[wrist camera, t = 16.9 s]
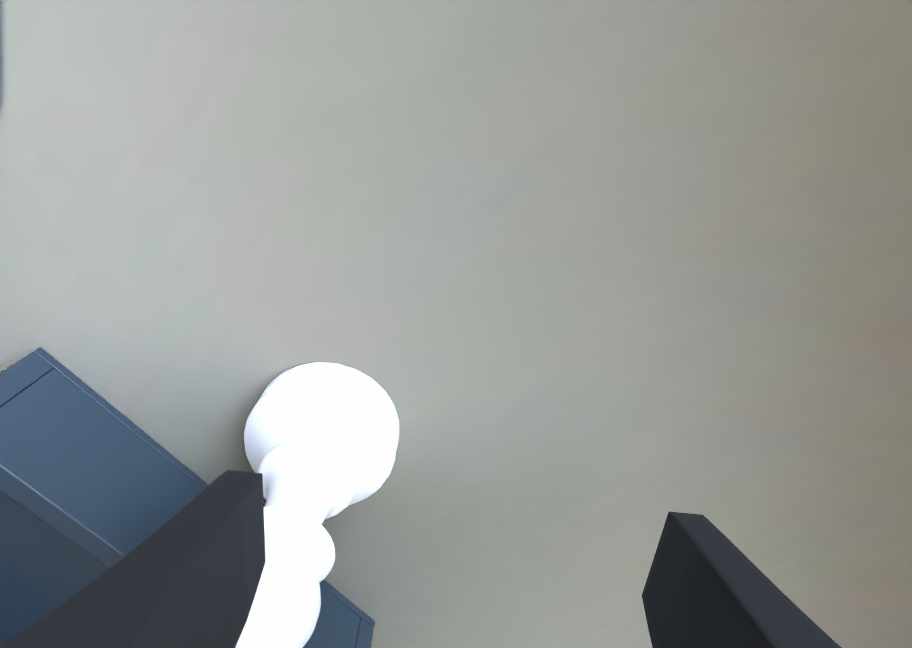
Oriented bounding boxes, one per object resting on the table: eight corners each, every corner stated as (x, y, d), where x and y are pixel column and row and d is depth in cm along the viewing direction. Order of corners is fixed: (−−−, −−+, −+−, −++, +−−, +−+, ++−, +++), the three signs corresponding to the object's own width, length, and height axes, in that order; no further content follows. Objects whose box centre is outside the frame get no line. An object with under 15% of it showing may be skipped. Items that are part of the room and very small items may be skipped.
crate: (-171, 552, 23) (-299, 650, 20) (40, 346, 20) (-67, 416, 16) (155, 753, 28) (105, 864, 24) (375, 621, 25) (358, 727, 21)
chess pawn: (262, 347, 19) (111, 552, 11) (410, 372, 20) (370, 591, 11) (255, 467, 21) (122, 717, 13) (390, 489, 22) (343, 746, 13)
